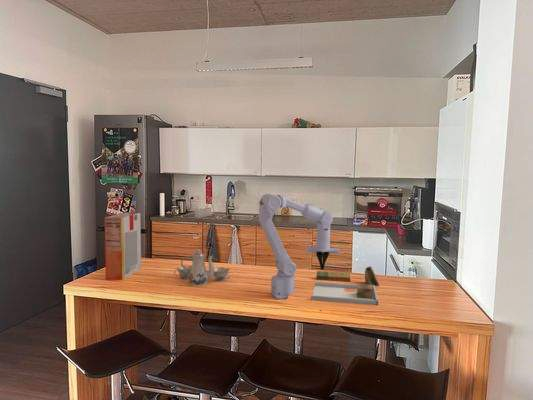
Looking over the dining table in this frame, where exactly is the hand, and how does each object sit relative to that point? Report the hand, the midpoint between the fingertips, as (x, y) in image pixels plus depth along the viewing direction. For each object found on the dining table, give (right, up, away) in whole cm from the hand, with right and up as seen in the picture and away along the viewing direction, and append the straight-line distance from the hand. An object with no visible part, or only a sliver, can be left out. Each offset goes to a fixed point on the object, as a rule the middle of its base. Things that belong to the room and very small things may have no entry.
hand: (322, 269), depth 166 cm
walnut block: (+16, -10, -8) cm, 21 cm away
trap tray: (+8, -11, -7) cm, 15 cm away
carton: (+8, -10, +17) cm, 21 cm away
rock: (+25, -10, +11) cm, 29 cm away
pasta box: (-97, -7, +28) cm, 101 cm away
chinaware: (-56, -9, +15) cm, 59 cm away
